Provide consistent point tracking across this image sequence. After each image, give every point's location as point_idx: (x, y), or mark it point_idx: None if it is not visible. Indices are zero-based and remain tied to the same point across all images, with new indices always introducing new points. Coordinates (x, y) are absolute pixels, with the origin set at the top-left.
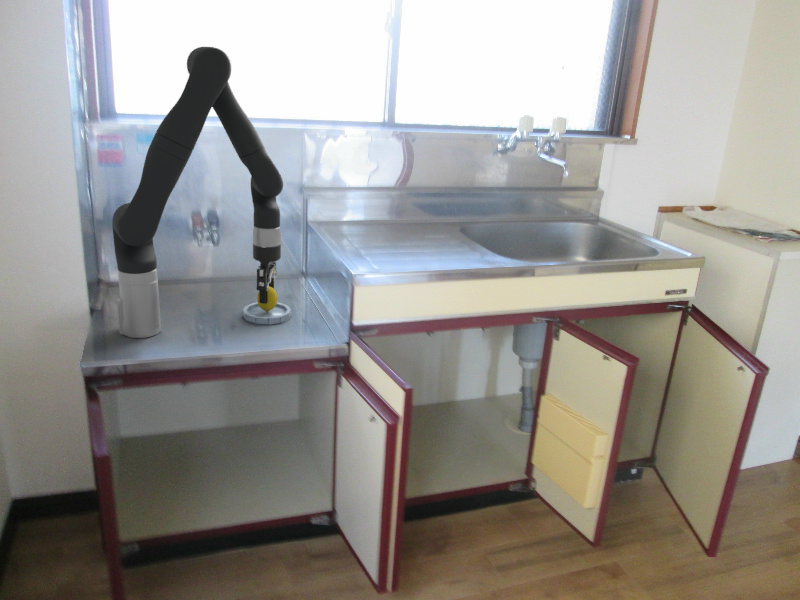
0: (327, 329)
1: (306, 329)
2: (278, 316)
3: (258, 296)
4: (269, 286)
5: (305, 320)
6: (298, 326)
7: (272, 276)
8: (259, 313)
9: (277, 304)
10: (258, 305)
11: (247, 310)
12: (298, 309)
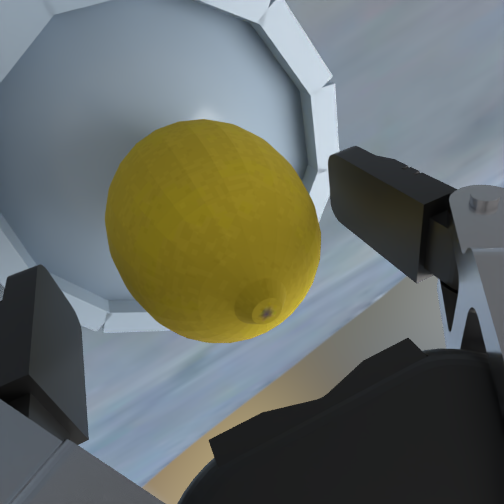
0: (154, 465)
1: (100, 428)
2: (98, 319)
3: (132, 195)
4: (279, 312)
5: (204, 362)
6: (112, 387)
7: (448, 333)
8: (114, 139)
9: (310, 180)
10: (265, 40)
11: (95, 4)
12: (327, 259)
